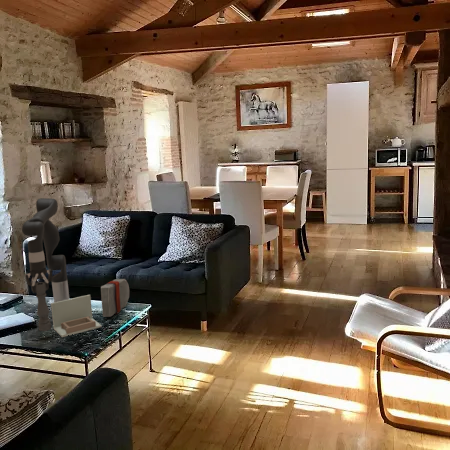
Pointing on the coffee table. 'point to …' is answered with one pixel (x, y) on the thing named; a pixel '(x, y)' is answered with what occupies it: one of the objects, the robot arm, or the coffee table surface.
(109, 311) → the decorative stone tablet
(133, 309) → the coffee table surface
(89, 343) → the coffee table surface
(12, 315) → the coffee table surface
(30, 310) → the coffee table surface
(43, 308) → the candle holder
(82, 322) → the board
